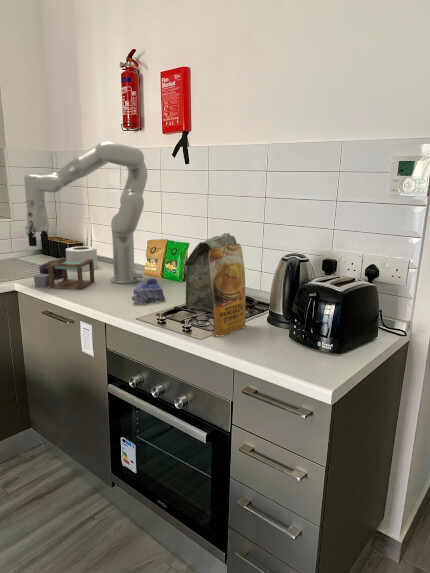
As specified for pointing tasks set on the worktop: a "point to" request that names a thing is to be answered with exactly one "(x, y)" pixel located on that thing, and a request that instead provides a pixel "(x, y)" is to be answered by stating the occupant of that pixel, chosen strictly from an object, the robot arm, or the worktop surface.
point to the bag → (202, 272)
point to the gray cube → (41, 280)
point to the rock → (57, 272)
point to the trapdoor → (69, 267)
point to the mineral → (148, 292)
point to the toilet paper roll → (82, 256)
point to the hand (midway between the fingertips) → (39, 244)
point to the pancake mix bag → (227, 288)
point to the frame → (67, 283)
